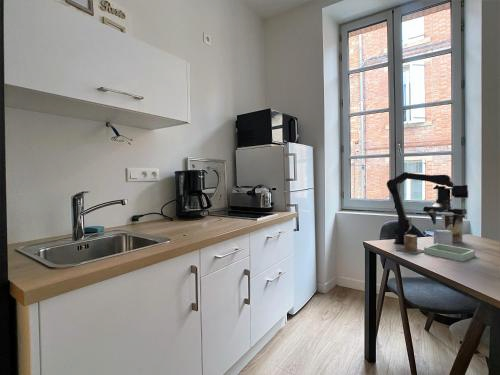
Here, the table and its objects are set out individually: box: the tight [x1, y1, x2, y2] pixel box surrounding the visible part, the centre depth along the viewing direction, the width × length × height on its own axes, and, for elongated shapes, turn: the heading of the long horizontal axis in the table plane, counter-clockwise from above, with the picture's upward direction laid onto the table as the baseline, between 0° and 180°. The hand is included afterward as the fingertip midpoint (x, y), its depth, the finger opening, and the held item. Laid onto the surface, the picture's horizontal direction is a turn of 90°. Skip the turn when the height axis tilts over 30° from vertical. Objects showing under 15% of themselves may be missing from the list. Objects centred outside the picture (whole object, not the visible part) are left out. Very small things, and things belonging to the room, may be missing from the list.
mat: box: [396, 247, 424, 256], centre depth 143 cm, size 10×10×1 cm
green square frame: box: [423, 243, 476, 262], centre depth 135 cm, size 17×14×3 cm
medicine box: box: [433, 229, 453, 246], centre depth 152 cm, size 8×4×9 cm, turn 84°
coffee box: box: [441, 213, 464, 243], centre depth 162 cm, size 9×6×16 cm
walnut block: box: [403, 233, 418, 252], centre depth 143 cm, size 4×4×8 cm
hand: (443, 225), depth 144 cm, fingers open, 9 cm apart
